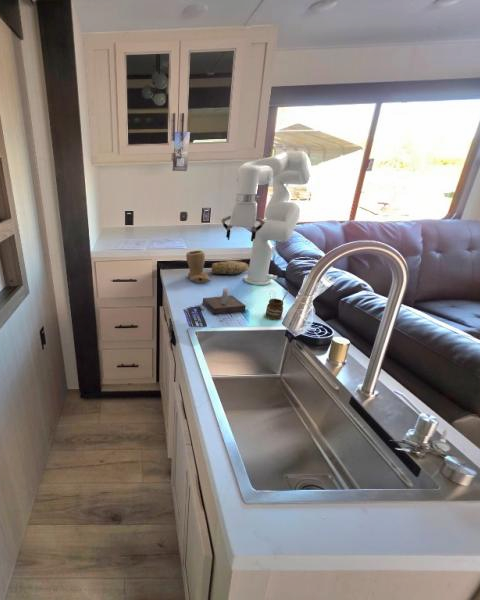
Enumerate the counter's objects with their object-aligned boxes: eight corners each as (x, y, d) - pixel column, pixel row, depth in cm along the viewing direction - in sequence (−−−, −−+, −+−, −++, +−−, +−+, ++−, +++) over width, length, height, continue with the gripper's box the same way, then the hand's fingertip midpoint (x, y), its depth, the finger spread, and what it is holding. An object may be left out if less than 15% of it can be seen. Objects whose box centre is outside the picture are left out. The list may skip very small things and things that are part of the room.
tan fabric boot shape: (183, 274, 174) (185, 247, 168) (205, 274, 173) (208, 248, 167) (186, 284, 160) (188, 255, 154) (210, 284, 160) (213, 255, 154)
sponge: (212, 278, 172) (251, 273, 167) (211, 264, 170) (250, 258, 165) (212, 274, 184) (248, 270, 179) (210, 261, 183) (246, 256, 178)
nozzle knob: (222, 298, 136) (223, 287, 134) (226, 299, 135) (227, 287, 133) (221, 304, 130) (222, 292, 128) (225, 304, 130) (227, 292, 128)
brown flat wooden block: (231, 301, 140) (232, 294, 139) (244, 312, 130) (245, 305, 129) (202, 304, 138) (202, 297, 136) (213, 315, 128) (214, 308, 126)
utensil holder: (266, 312, 130) (271, 285, 125) (282, 315, 127) (288, 288, 122) (263, 318, 125) (269, 290, 121) (281, 321, 122) (287, 293, 118)
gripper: (267, 198, 129) (260, 239, 136) (224, 197, 134) (219, 236, 141) (269, 200, 123) (262, 243, 130) (223, 199, 128) (218, 240, 134)
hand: (240, 240), depth 135 cm, fingers open, 9 cm apart
